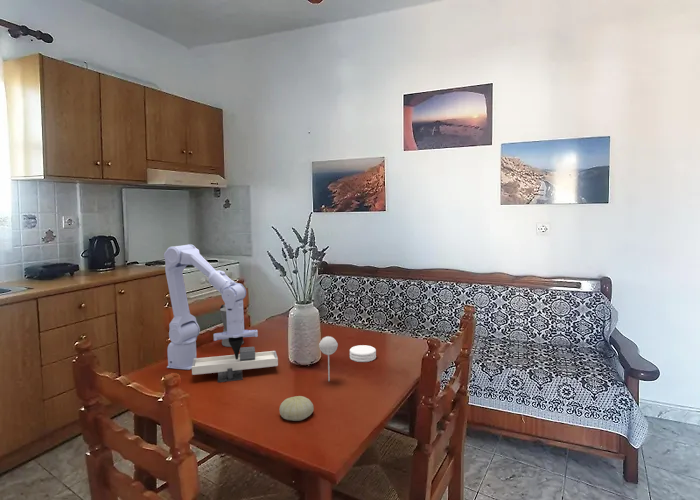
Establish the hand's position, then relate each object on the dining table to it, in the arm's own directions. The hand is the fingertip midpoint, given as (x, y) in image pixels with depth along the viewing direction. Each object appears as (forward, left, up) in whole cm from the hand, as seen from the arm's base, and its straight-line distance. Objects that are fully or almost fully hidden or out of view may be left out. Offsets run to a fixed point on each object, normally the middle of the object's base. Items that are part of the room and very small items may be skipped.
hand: (236, 358), depth 151 cm
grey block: (+3, +2, -1) cm, 4 cm away
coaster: (+39, +25, -6) cm, 47 cm away
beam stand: (-2, -1, -5) cm, 6 cm away
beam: (0, 0, -3) cm, 3 cm away
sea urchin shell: (+31, -23, -6) cm, 39 cm away
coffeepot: (-19, +30, -6) cm, 36 cm away
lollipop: (+33, +1, -6) cm, 33 cm away
